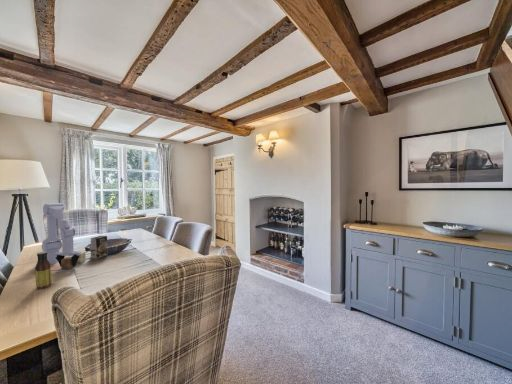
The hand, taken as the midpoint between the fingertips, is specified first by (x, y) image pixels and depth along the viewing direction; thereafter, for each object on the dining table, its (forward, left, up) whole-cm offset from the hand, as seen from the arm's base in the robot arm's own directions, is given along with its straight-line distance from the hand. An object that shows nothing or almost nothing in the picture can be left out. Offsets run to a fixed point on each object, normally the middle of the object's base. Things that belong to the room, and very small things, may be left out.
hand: (68, 266), depth 145 cm
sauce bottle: (+5, -26, -2) cm, 26 cm away
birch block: (0, +11, -2) cm, 11 cm away
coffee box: (+7, +23, -2) cm, 24 cm away
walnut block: (0, 0, -2) cm, 2 cm away
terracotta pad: (-7, 0, -2) cm, 8 cm away
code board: (-3, +6, -2) cm, 7 cm away
